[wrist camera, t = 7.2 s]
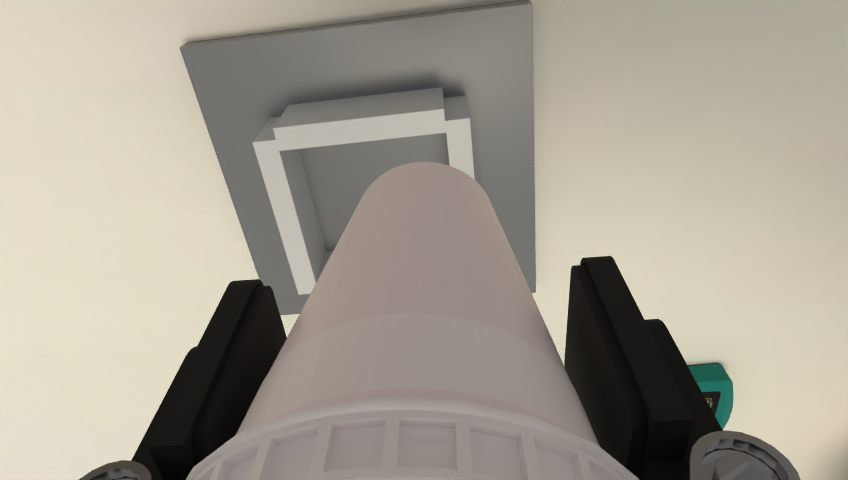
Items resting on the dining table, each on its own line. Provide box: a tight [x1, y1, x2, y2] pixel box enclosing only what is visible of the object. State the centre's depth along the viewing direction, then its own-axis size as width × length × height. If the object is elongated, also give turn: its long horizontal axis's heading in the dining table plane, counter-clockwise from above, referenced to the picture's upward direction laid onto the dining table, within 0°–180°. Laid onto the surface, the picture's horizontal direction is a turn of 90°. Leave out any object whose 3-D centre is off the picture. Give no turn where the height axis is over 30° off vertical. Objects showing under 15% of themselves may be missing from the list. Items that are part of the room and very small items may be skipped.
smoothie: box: [186, 162, 639, 480], centre depth 9 cm, size 6×6×14 cm
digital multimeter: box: [688, 363, 733, 430], centre depth 43 cm, size 7×15×3 cm, turn 95°
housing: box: [180, 0, 536, 315], centre depth 31 cm, size 18×18×4 cm
